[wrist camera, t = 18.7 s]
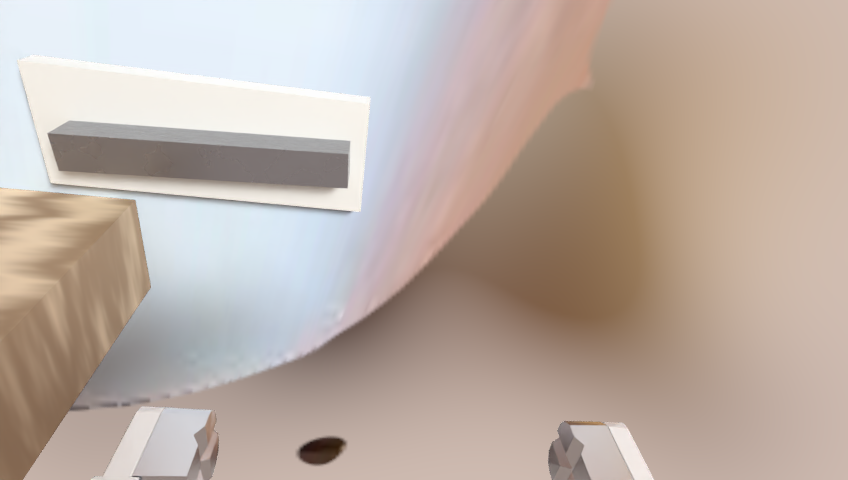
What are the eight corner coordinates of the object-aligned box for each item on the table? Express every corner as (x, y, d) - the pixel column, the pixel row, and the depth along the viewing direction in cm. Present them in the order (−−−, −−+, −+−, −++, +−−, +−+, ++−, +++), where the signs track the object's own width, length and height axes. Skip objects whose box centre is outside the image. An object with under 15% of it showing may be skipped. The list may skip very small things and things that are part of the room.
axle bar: (79, 156, 40) (58, 170, 37) (69, 120, 38) (47, 133, 36) (349, 173, 42) (347, 188, 40) (350, 140, 41) (348, 154, 38)
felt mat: (63, 173, 43) (50, 183, 41) (33, 54, 38) (16, 60, 36) (361, 201, 46) (360, 211, 45) (370, 97, 41) (369, 104, 39)
